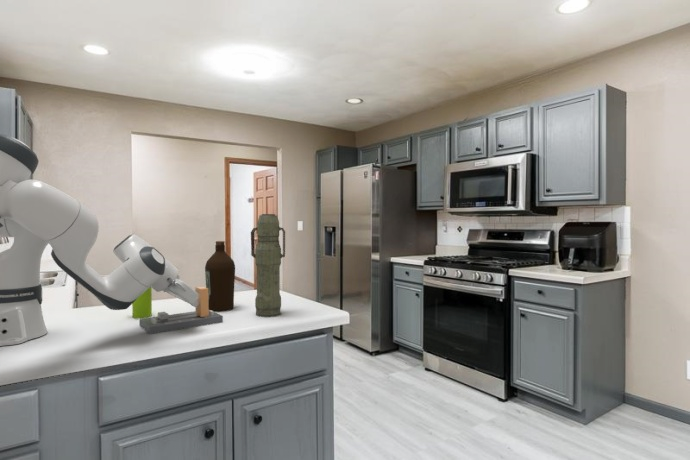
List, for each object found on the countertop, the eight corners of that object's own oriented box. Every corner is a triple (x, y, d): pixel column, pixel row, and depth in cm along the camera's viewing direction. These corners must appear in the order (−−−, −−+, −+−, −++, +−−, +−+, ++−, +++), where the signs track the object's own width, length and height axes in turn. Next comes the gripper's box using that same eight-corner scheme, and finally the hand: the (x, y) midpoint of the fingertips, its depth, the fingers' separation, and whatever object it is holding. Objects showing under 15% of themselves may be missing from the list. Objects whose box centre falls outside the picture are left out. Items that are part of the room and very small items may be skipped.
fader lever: (200, 317, 131) (200, 288, 131) (195, 314, 135) (195, 286, 135) (208, 315, 133) (208, 288, 132) (203, 313, 137) (202, 286, 136)
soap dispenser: (146, 318, 138) (146, 258, 137) (128, 317, 139) (127, 258, 139) (158, 314, 144) (157, 257, 143) (140, 313, 145) (139, 256, 144)
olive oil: (234, 305, 160) (233, 240, 159) (236, 311, 150) (236, 241, 149) (205, 306, 156) (204, 240, 156) (205, 313, 146) (205, 242, 146)
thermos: (251, 311, 149) (251, 214, 148) (285, 310, 151) (285, 214, 150) (249, 317, 140) (249, 214, 139) (285, 316, 142) (285, 214, 141)
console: (149, 333, 120) (149, 321, 120) (139, 325, 130) (139, 313, 129) (222, 322, 134) (222, 310, 134) (208, 315, 143) (208, 304, 143)
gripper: (182, 272, 119) (215, 302, 126) (161, 266, 135) (192, 292, 142) (166, 289, 117) (201, 319, 123) (147, 280, 133) (179, 307, 139)
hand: (196, 304), depth 133 cm, fingers closed, pressing on fader lever
